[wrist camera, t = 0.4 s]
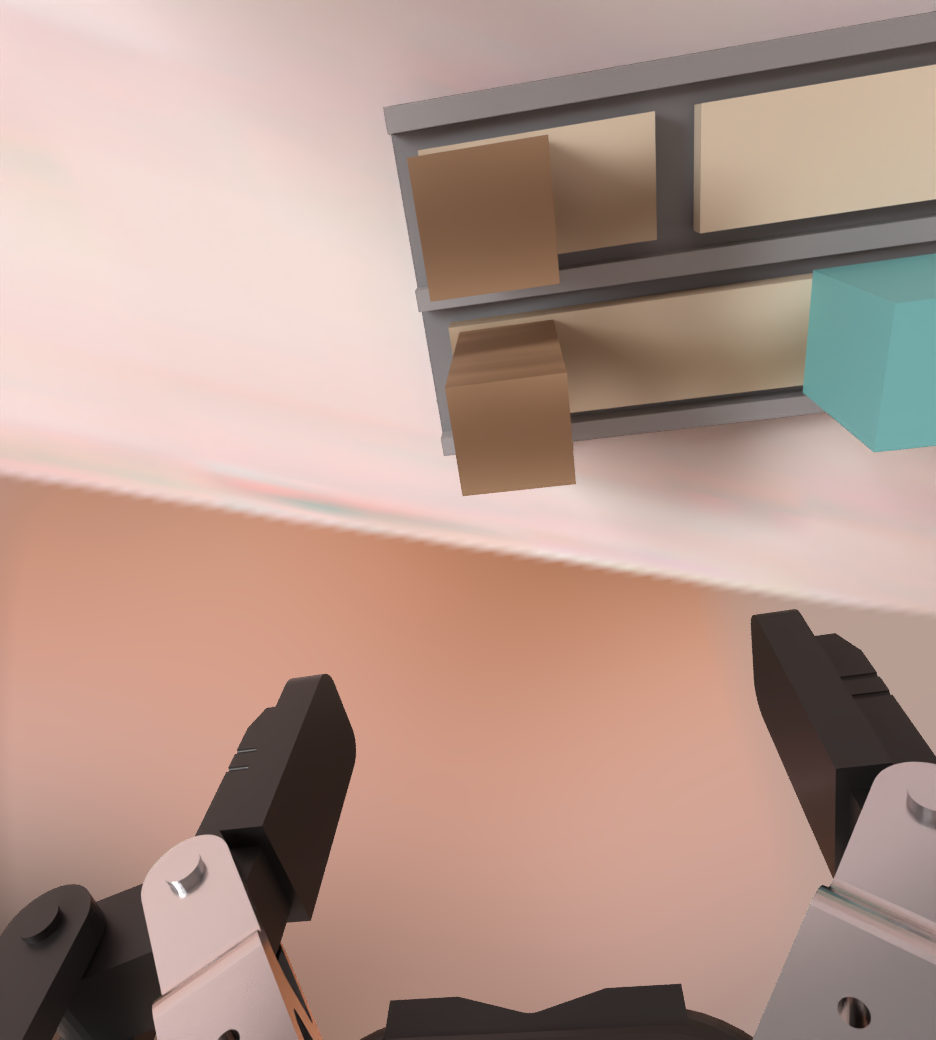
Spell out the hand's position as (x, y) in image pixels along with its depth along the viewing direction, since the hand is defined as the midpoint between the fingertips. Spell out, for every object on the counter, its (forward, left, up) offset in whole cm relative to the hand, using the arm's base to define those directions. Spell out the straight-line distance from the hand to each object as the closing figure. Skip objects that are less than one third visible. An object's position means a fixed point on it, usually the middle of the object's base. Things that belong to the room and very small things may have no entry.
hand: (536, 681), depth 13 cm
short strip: (-7, +1, -18) cm, 19 cm away
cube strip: (-1, +7, -18) cm, 19 cm away
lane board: (-4, +7, -19) cm, 21 cm away
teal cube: (-1, +13, -17) cm, 21 cm away
